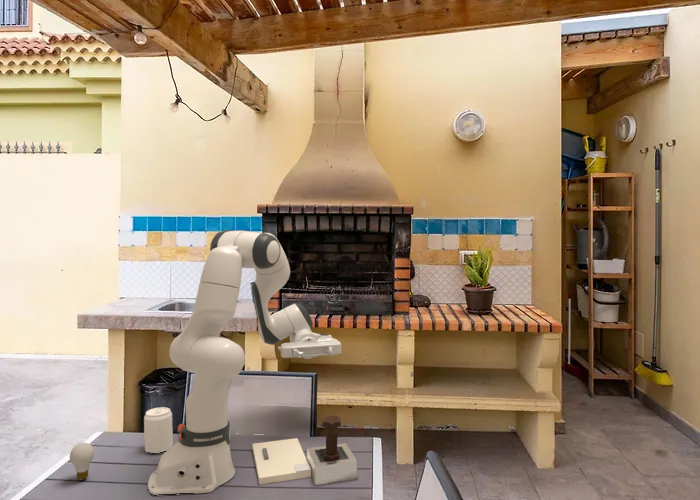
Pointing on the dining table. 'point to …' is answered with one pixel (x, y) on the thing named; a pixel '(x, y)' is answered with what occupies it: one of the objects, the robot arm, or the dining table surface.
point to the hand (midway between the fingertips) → (315, 354)
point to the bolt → (331, 437)
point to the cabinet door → (280, 461)
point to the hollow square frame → (332, 465)
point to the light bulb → (82, 459)
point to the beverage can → (158, 430)
